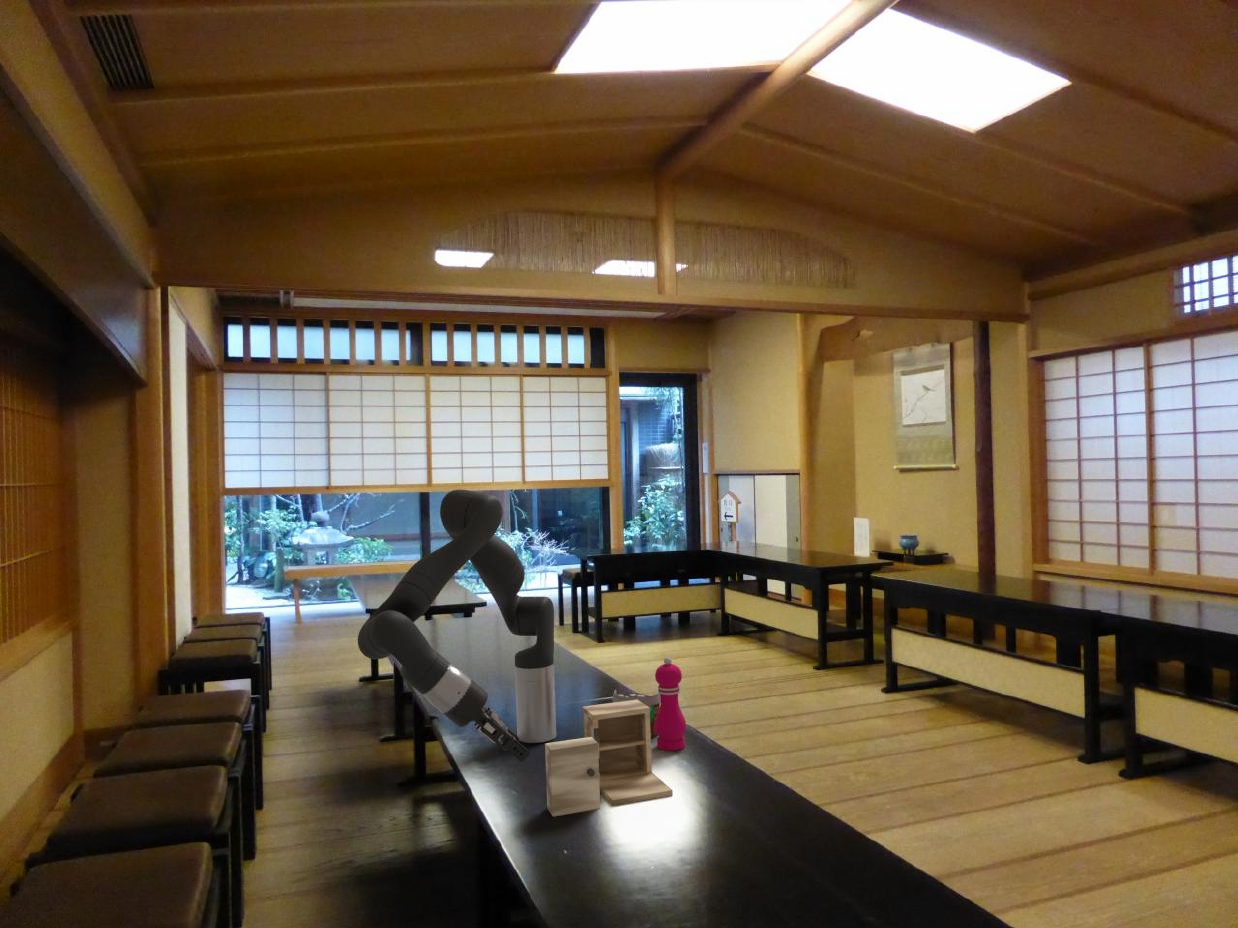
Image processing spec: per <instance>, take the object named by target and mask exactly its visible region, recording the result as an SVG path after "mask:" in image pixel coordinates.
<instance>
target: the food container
mask: <svg viewBox="0 0 1238 928" xmlns="http://www.w3.org/2000/svg"><path fill="white" fill-rule="evenodd" d="M629 700H639V701H640V702H642V703H643V704H645V705H646V706H648V707H649V708H650V734H651V739H652V738H656V737H657V736H659V735H658V734H657V733H656V732H655V729H654V726H655V720H656V717H657V714H658V712H659V709H660V704H661V698H660V693H656V694H653V695H647V694H644V693H638V692H637V693H618V692H617V689H615V690H614V693H613V695H612V703H614V702H622V701H629Z"/></svg>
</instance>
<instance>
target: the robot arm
mask: <svg viewBox="0 0 1238 928" xmlns="http://www.w3.org/2000/svg"><path fill="white" fill-rule="evenodd" d="M439 506H440V508H439V514H440V515H439V516H440V521H441V524H442V526H443V529H445V532H447V534H448V535H449V536H450V537H451V538H452V540H450V541H449V542H448V543H446V544H444V545H443V546H441V547H439V548H437V549H436V550H434V551H432V552H430V553H428V554H426V555H425V556H423V557H422V558H420V559H419V560H418V561H416V562H415V563H414V564H413V565H412V566H411V567H409V569H408V570H407V572H406V573H405V574H404V576H402V578H401V580H400V581H399V582H398V584H397V585H396V586H395V588H394V589H393V591H392V592H391V593H390V595H389V596H388V597H387V599H385V600H384V601H383V602H382V604H380V605H379V607H378V608H377V609H376V610H375V611H374V612H373V613H371V615H370V616H369V618H367V620H366V621H365V622H364V624H363V625H362V626H361V628H360V630H359V631H358V634H357V646H358V649H359V651H360V653H362V654H363V655H364V657H366V658H368V659H370V660H381V659H382V660H383V659H385V658H387V657H389V656H391V655H392V657H394V658H395V660H396V661H397V662H398V663H399V664H400V665H401V668H400V675H401V677H402V678H403V679H404V680H405V682H407V683H408V684H409V685H411V687H412V688H414V689H415V690H416V691H417V692H418V693H420V694H421V695H422V696H423V697H424V698H425V699H426V700H427V701H428V702H429V704H431V706H433V707H434V708H436V709H437V710H438V711H439V712H441V714H443V715H444V716H445V717H446V718H447V719H448V720H449V721H451V722H452V723H453V724H454V725H456V726H457V727H459V728H464V727H466V726H468V725H470V724H469V723H471V722H474V723H473V725H474V727H476V728H475V729H476V730H477V731H478V732H479V733H480V734H482V735H484V736H485V737H487V739H489V741H490V742H492V743H494V744H496V746H498V747H500V748H501V750H502V751H504V752H509V753H510V754H511V755H513V756H514V757H515V758H516V759H517V760H518V761H519V762H521V763H523V762H525V761H526V759H527V758H528V757H529V755H530V751H529V749H527V748H526V747H525V746H524V745H523V744H521V743H528V744H536V743H537V744H539V743H545V742H548V741H552V740H554V739H556V737H557V717H556V716H557V714H556V689H555V688H556V686H555V663H554V661H555V660H554V658H555V657H554V656H555V608H554V603H553V601H552V599H551V598H550V597H549V596H520V595H518V593H519V592H520V590H521V588H522V586H523V584H524V581H525V575H526V571H525V567H524V566H523V563H522V562H521V561H522V560H521V559H520V558H519V555H518V554H517V553H516V551H515V550H514V549H513V548H512V547H511V545H509V543H508V542H506V541H504V540H503V539H502V538H500V537H499V536H498V535H496V534H495V533H497V531H498V529H499V528H500V525H501V522H502V519H503V505H502V502H501V501H500V499H499V498H498V497H496V495H492V494H489V493H484V492H480V491H479V492H478V491H474V490H467V489H453V490H450V491H448V492H447V493H446V494H445V496H444V497H442V501H441V503H440V505H439ZM468 562H470V563H471V565H472V566H473V568H474V569H475V570H476V572H477V574H478V575H479V578H480V579H481V581H482V582H483V584H484V586H485V587H486V588H487V590H488V591H489V592H490V595H491V596H492V597H493V599H494V601H495V603H496V605H497V607H498V610H499V612H500V613H501V616H502V618H503V621H504V623H505V625H506V627H507V629H508V631H509V632H510V633H511V634H512V635H514V636H518V637H519V636H520V637H536V641H535V643H534V645H532V646H530V647H527V648H525V649H522V650H519V651H517V652H516V653H515V655H514V677H515V678H514V679H515V704H516V705H515V707H516V709H515V710H516V733H514V731H512V730H511V729H510V728H508V726H507V725H506V724H505V722H504V721H502V718H501V717H500V716H499V715H498V714H496V712H495V711H494V710H493V709H492V708H491V707H489V706H488V707H486V706H485V705H486V703H487V701H488V692H487V691H486V690H485V689H484V688H482V687H481V686H480V685H479V684H477V683H476V682H475V681H474V680H473V679H472V678H471V677H469V676H468V675H467V674H466V673H465V672H464V671H463V670H462V669H460V668H458V667H457V666H455V665H454V664H452V663H451V662H449V660H448V659H446V658H445V657H444V656H443V655H441V654H440V653H439V652H438V651H436V650H435V648H433V647H432V646H431V645H430V643H429V641H428V639H427V638H426V636H425V635H423V633H422V631H421V630H420V629H419V627H417V625H416V624H415V622H416V621H417V620H418V619H420V618H421V617H422V616H423V615H424V614H425V613H426V612H427V611H428V610H429V608H430V607H431V605H432V604H433V603H434V602H435V600H436V599H437V597H438V596H439V594H440V593H441V592H442V591H443V589H444V588H445V587H446V585H447V583H449V581H450V580H452V579H451V578H452V577H454V575H455V574H456V573H457V572H459V570H460V569H461V568H462V567H464V566H465V565H466V564H467V563H468ZM516 734H517V735H516ZM502 741H503V742H502ZM520 742H521V743H520Z"/></svg>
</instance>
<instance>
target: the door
mask: <svg viewBox="0 0 1238 928" xmlns="http://www.w3.org/2000/svg"><path fill="white" fill-rule="evenodd" d="M544 748H545V749H544V750H545V751H544V752H545V753H544V754H545V755H544V756H545V777H546V778H545V779H546V780H545V782H546V807H547V811H548V812H549V813H550V815H551V816H552V817H558V816H565V815H570V814H571V815H572V814H575V813H581V812H588V811H592V810H593V811H594V810H599V809H601V795H600V793H601V792H600V788H599V760H598V743H597V742H596V741H595V740H594V739H593V738H592V737H587V738H584V737H581V738H575V739H573V738H572V739H566V740H559V741H553V742H547V743H545V742H544Z"/></svg>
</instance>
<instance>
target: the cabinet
mask: <svg viewBox="0 0 1238 928" xmlns="http://www.w3.org/2000/svg"><path fill="white" fill-rule="evenodd" d="M582 721H583V722H582V723H583V724H582V725H583V727H582V728H583V729H582V730H583V738H587V737H592V738H593V739H594V740H595V741H596V742H597V743H598V760H599V788H600V793H601V794H602V795H603V797H604V798H605V799H606V801H608V802H609V803H610V804H611V805H612V806H613V807H614V806H620V805H625V804H631V803H637V802H642V801H648V800H653V799H659V798H660V799H661V798H665V797H666V798H667V797H670V796H673V789H672V788H671V787H670V786H668V785H667V784H666V783H665V782H664V781H663V780H662V779H661V778H660V777H658V776H657V775H656V774H655V773H653V765H652V763H653V761H652V760H653V759H652V738H651V734H650V708H649V707H648V706H646V705H645V704H643V703H642V702H640V701H639V700H629V701H622V702H614V703H613V702H608V703H600V704H593V705H587V706H585V705H584V706H582Z"/></svg>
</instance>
